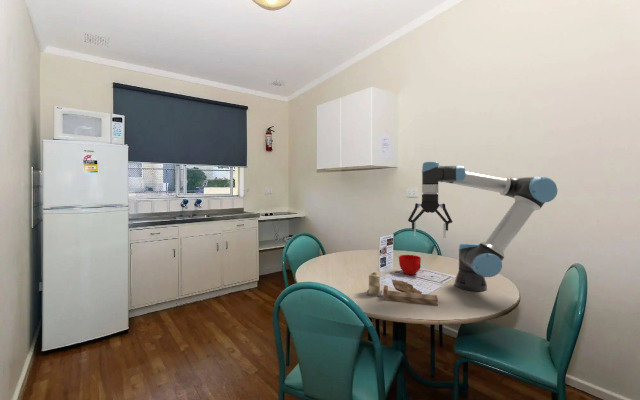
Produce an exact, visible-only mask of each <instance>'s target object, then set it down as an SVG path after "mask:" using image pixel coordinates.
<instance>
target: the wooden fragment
mask: <svg viewBox="0 0 640 400" xmlns="http://www.w3.org/2000/svg"><path fill="white" fill-rule="evenodd" d="M391 280H392V281H391V282H392V283H393V285H394V287H395V289H396V290H398V291H400V292H408V293H418V294H423V293H422V291H420V290H419V289H417V288H414V285H413V284H411V283H408V282H407V281H403V280H396V279H392V278H391Z"/></svg>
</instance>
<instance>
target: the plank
mask: <svg viewBox="0 0 640 400" xmlns="http://www.w3.org/2000/svg"><path fill="white" fill-rule="evenodd" d="M388 288H389V286H388V285H383V291H382V293H383V295H382V297H383V298H382V300H385V301H396V302H403V303H412V304H413V303H414V304H421V305H423V304H424V305H429V306H430V305H431V306H438V305H439V304H438V303H439V300H438V299H439V298H438V296H437V294H427V293H421V294H418V293H408V292H404V291H399V290H398V291H396V290H389V289H388Z"/></svg>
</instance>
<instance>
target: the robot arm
mask: <svg viewBox="0 0 640 400" xmlns="http://www.w3.org/2000/svg"><path fill="white" fill-rule="evenodd" d="M421 168H422V169H421V193H422V194H421V203H417V202H415V204H414V208H413V210H412V212H411V213H410V216H409V217H408V219H407V222H410V223H411V230H413V237H417V222H416V221H418V220H419V219H420V217H421V216H422V215H424V213H429V214H430V213H431V214H433V213H436V214H437V215H438V217H439V218H440V219H441V220H442V221H443V222H444V223H443V225H442V226H443V228H442V229H443V231H442V232H443V234H442V235H443V239H444V238H445V239H446V237H447V236H446V235H447V234H446V233H447V231H449V224H452V223H453V219H452V218H451V215H450V214H449V212H448V210H447V208H446V204H445V203H440V202H439V194H438V193H439V183H446V184H447V183H448V184H453V185H458V186H463V187H468V188H473V189H479V190H485V191H489V192H495V193H499V194H500V195H501V196H505V197H509V198H513V199H514V203H513V204H512V205H511V207H510V208H509V209H508V211H507V212H506V213H505V215H504V216H503V217H502V219H501V220H500V221H499V223H498V224H497V225H496V227H495V228H494V230H493V231H492V232H491V234H490V235H489V237H488V238H487V239H486V241H483V242H480V243H467V242H466V243H464V242H463V243H460V244H459V248H458V271H457V273H456V276H455V279H454V285H455V286H456V287H457V288H459V289H462V290H465V291H470V292H483V291H486V290H487V289H488V283H487V281H486V278H494V277H495V276H498V274H500V272H501V271H502V269H503V260H504V259H505V253H504V252H505V251H506V250H507V248H508V247H509V246H510V244H511V243H512V241H513V240H514V239H515V237H516V236H517V235H518V233H519V232H520V231H521V229H522V228H523V226H524V225H525V224H526V222H527V221H528V220H529V218H530V217H531V215H533V213H534V212H535V211H539V210H541V209H542V208H543V206H544V205H545V204H546V203H549V202H551V201H554V199H555V198H556V197H557V196H558V188H557V183H556V182H555V181H554V180H553V179H552V178H549V177H548V176H547V177H546V176H540V175H537V176H533V177H532V176H530V177H511V176H505V177H498V176H493V175H492V176H491V175H488V174H487V175H486V174H481V173H475V172H472V171H471V172H469V171H466V168H465V166H463V165H440V163H439V162H438V161H425V162H423V163H422V167H421ZM420 207H421V208H422V209H421V210H420V211H419V212H418V214H417V215H416V216H415V214H416V212H417V210H418V209H419V208H420ZM439 208H440V209H442V211H443V212H444V214H445V216H446V218H447V219H446V218H445V217H444V216H443V215H442V213H440V211H439V210H438V209H439ZM414 216H415V217H414ZM413 217H414V218H413Z"/></svg>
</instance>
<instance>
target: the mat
mask: <svg viewBox="0 0 640 400" xmlns="http://www.w3.org/2000/svg"><path fill="white" fill-rule="evenodd" d="M382 293H383V291H382V290H381V289H380V293H379V295H378V294H369V288H368V289H367V291H366V293H365V294H366V296H369V297H379V298H380V297H382Z"/></svg>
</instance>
